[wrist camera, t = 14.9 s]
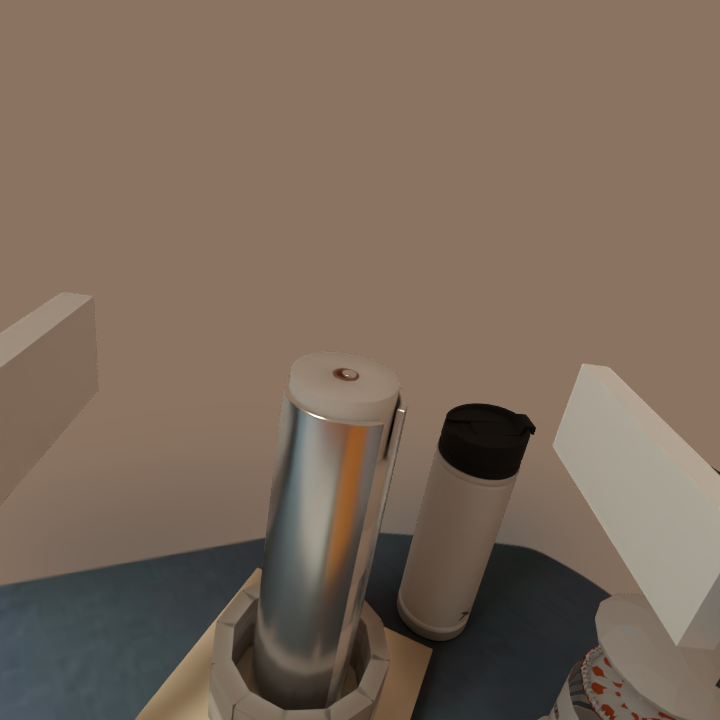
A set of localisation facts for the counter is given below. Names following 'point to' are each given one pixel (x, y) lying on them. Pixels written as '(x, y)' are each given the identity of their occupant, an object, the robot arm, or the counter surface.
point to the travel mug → (460, 516)
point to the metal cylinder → (323, 524)
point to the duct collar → (258, 716)
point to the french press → (640, 671)
